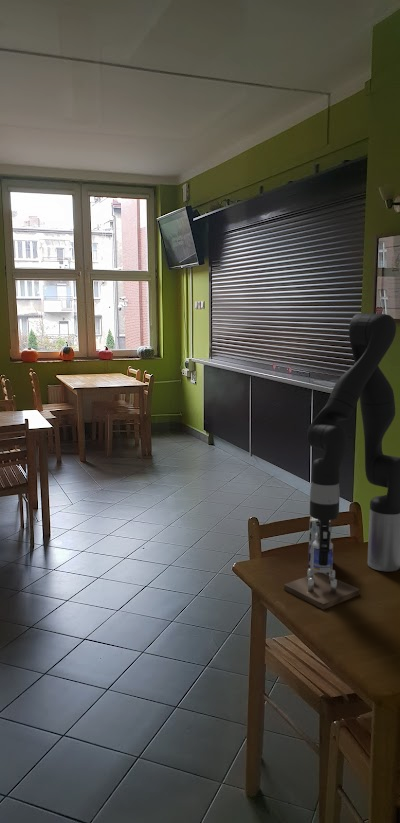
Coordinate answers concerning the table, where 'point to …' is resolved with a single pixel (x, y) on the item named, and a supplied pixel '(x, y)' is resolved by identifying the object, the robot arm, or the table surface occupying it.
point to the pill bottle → (315, 557)
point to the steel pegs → (331, 581)
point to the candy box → (312, 540)
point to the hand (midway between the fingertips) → (322, 560)
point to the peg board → (321, 591)
